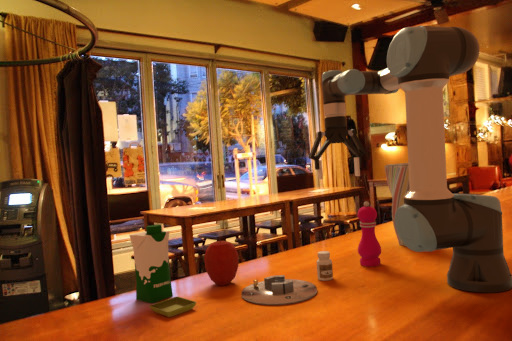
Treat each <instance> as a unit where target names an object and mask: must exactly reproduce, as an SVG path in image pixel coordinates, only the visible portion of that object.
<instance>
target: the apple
mask: <svg viewBox="0 0 512 341" xmlns="http://www.w3.org/2000/svg"><path fill="white" fill-rule="evenodd" d="M203 260H204V266H205V267H204V269H205V271H206V273H207V275H208V277H209V279H210V281H212V283H214V284H215V285H217V286H219V287H224V286H227V285H229V284H230V283H232V281H233V280H234V279H235V278H236V275H237V271H238V269H239V253H238V251H237V248H236V247H235V245H234V244H233V243H232V242H230V241H227V240H221V237H219V240H216V241H214V242H211V243H210V244H209V245H208V247H207V248H206V249H205V254H204V258H203Z"/></svg>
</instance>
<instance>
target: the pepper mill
mask: <svg viewBox="0 0 512 341" xmlns="http://www.w3.org/2000/svg"><path fill="white" fill-rule="evenodd" d="M377 218H378V212H377V209H376V208H374V207H373V206H370V202H369V201H364V202H363V206H362V207H360V208H358V210H357V219H359V227H361V238H360V241H359V244H358V247H357V253H358V255H359V256H360V257H361V258H359V264H360V265H361V266H362V267H369V268H370V267H378V266H381V264H382V263H381V258H380V257H379V256H381V254H382V246H381V244H380V243H379V240H378V239H377V236H376V229H375V228H376V227H377V221H376V219H377Z"/></svg>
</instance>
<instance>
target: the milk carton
mask: <svg viewBox="0 0 512 341" xmlns="http://www.w3.org/2000/svg"><path fill="white" fill-rule="evenodd" d="M162 227H163V226H162V224H150V225H146V226H145V229H146V231H142V232H137V233H132V234H129V240H130V241H131V245H132V249H133V250H132V251H133V257H134V258H133V260H134V271H135V273H134V274H135V286H136V287H135V293H136V295H135V297H136V298H135V300H137V301H141V302H145V303H149V304H151V305H152V304H155V303H158V302H162V301H164V300H167V299H170V298H173V296H174V295H173V294H174V293H173V288H172V287H173V286H172V280H171V269H170V258H169V257H170V255H169V254H170V253H169V239H170V237H169V236H170V231H169V230H168V231H167V230H163V229H162Z"/></svg>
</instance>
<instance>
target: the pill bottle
mask: <svg viewBox="0 0 512 341" xmlns="http://www.w3.org/2000/svg"><path fill="white" fill-rule="evenodd" d="M317 258H318V259H317V260H316V273H317V274H316V275H317V280H319V281H324V282H325V281H327V282H328V281H332V280H333V279H334V273H333V272H334V271H333V261H332V259H331V253H330V251H328V250H322V251H318V252H317Z"/></svg>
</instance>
